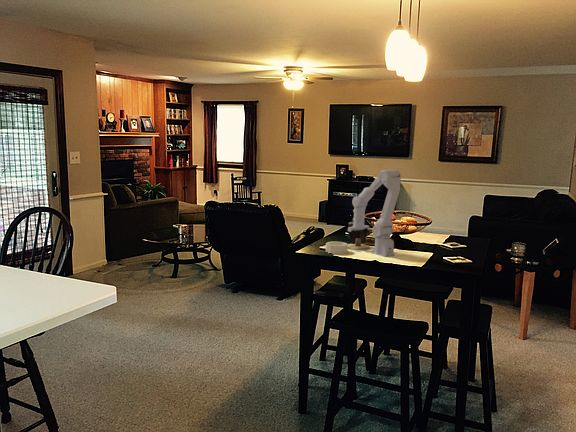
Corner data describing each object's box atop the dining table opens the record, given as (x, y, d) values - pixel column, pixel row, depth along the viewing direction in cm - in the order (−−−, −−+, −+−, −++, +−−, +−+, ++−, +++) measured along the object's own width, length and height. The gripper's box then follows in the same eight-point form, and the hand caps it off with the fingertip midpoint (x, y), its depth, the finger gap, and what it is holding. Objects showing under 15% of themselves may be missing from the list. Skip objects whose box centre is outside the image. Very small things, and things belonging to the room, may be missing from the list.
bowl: (351, 252, 257) (351, 244, 256) (335, 255, 250) (336, 246, 250) (336, 248, 266) (337, 240, 265) (321, 251, 259) (321, 243, 258)
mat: (377, 248, 268) (377, 248, 268) (358, 252, 259) (358, 251, 259) (357, 243, 280) (357, 243, 280) (338, 247, 270) (338, 246, 270)
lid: (374, 248, 268) (375, 239, 267) (358, 251, 260) (358, 242, 259) (357, 244, 278) (358, 235, 277) (341, 246, 270) (341, 238, 270)
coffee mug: (357, 242, 285) (358, 225, 283) (344, 240, 290) (345, 223, 289) (367, 239, 294) (368, 222, 293) (354, 237, 299) (355, 221, 298)
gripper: (363, 216, 274) (361, 240, 276) (344, 218, 265) (343, 243, 268) (372, 218, 269) (371, 242, 271) (353, 220, 260) (352, 245, 262)
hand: (358, 243), depth 269 cm, fingers open, 7 cm apart
